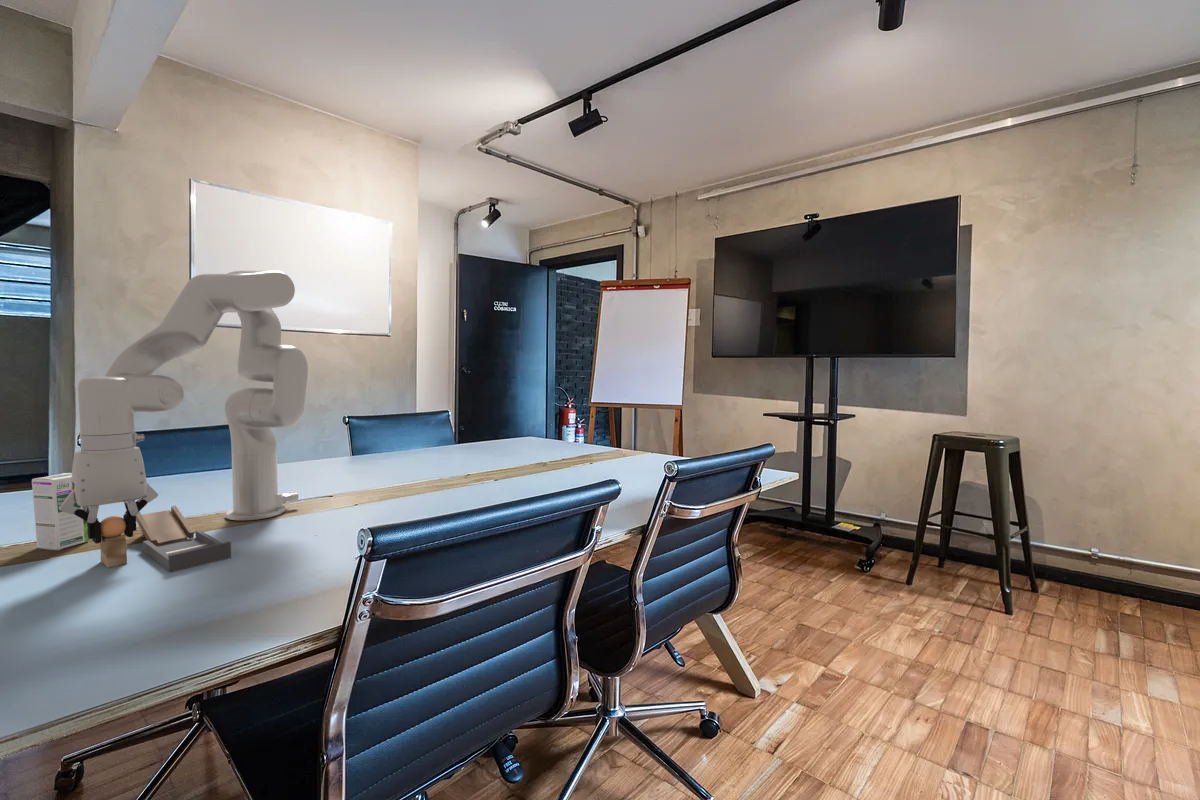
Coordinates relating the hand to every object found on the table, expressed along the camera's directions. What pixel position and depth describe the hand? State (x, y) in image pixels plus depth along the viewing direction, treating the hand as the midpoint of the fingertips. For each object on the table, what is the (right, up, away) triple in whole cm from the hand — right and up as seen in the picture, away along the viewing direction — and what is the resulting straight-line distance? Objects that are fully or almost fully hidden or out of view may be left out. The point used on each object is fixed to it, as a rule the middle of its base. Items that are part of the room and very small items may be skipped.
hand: (112, 537), depth 102 cm
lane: (+10, -5, +6) cm, 12 cm away
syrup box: (-18, -4, +9) cm, 21 cm away
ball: (0, +2, 0) cm, 2 cm away
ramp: (-1, -4, +14) cm, 14 cm away
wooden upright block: (0, -5, 0) cm, 5 cm away
